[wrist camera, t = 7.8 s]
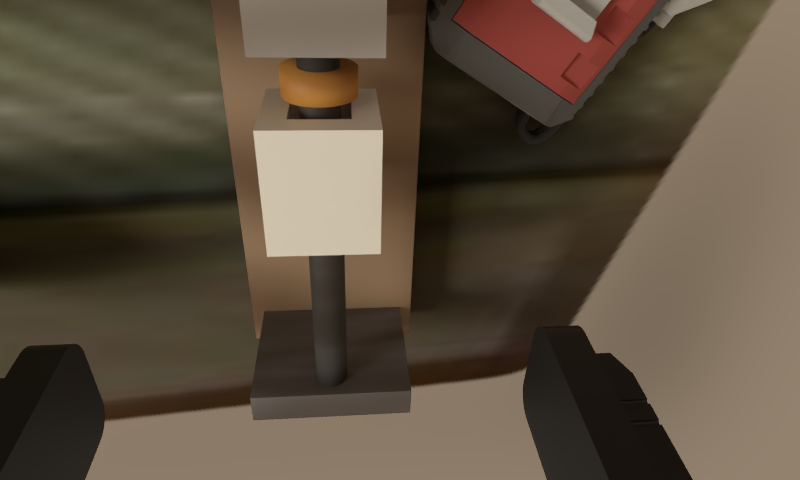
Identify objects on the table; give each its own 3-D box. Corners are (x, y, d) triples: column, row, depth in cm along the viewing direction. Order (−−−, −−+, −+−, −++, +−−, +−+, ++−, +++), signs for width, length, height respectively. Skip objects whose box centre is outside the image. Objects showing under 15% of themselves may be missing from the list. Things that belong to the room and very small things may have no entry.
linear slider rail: (207, -92, 19) (152, -74, 13) (425, -86, 19) (460, -65, 14) (259, 317, 28) (240, 429, 22) (405, 312, 28) (422, 420, 23)
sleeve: (266, 88, 18) (253, 131, 15) (375, 88, 18) (382, 130, 16) (276, 201, 20) (267, 256, 17) (374, 199, 20) (380, 253, 18)
